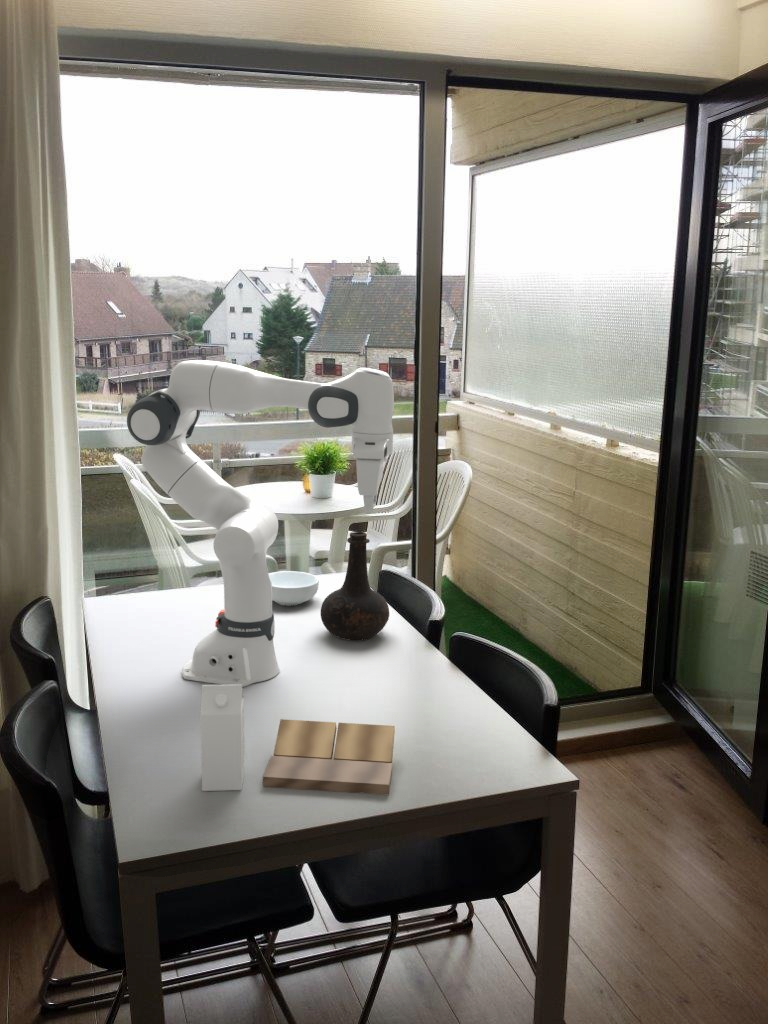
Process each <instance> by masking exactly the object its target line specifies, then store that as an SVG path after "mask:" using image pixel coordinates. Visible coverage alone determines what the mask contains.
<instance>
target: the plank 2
mask: <svg viewBox="0 0 768 1024" xmlns="http://www.w3.org/2000/svg"><path fill="white" fill-rule="evenodd" d="M395 729H396V728H395V725H383V724H368V723H367V724H366V723H353V722H352V723H351V722H350V723H349V722H338V724H337V729H336V736H335V743H334V750H333V757H332V759H333V760H349V761H365V762H381V763H392V764H393V757H394V755H393V754H394V744H395V734H396V733H395Z"/></svg>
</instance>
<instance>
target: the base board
mask: <svg viewBox="0 0 768 1024" xmlns="http://www.w3.org/2000/svg"><path fill="white" fill-rule="evenodd" d="M392 776H393V762H392V763H381V762H365V761H349V760H334V759H333V758H332V759H317V758H301V757H285V756H274V755H271V756H270V759H269V761H268V764H267V766H266V768H265V770H264V773H263V774H262V787H264V788H277V789H279V788H280V789H281V788H282V789H292V790H293V789H295V790H310V791H325V792H326V791H328V792H338V793H339V792H341V793H342V792H343V793H355V794H356V793H357V794H369V795H384V794H389V795H390V788H391V783H392Z"/></svg>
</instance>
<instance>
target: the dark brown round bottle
mask: <svg viewBox="0 0 768 1024" xmlns="http://www.w3.org/2000/svg"><path fill="white" fill-rule="evenodd" d="M367 535H368V534H367V533H366V532H364V531H358V532H355V531H353V532H350V533H349V537H348V538H347V540H346V542H347V543H349V546H348V547H349V550H348V560H347V568H346V574H345V578H344V581H343V584H342V585H341V587H340V588H339V589H336V590H335V591H332V592H331V593H329V594H328V595H327V596H326V597H325V598H324V600H323V602H322V604H321V607H320V618H321V619H320V620H321V621H322V622H321V623H322V624H323V626H324V627H325V628H326V630H327V631H328V632H329V633H330V634H331V635H332V636H334V637H337V638H339V639H342V640H345V641H350V642H351V641H352V642H353V641H354V642H356V641H357V642H359V641H367V640H370V639H372V638H374V637H375V636H377V635H378V634H380V633H381V632H382V631H383V629H384V628H385V627H386V625H387V623H388V621H389V620H390V619H389V618H390V608H389V607H390V606H389V604H388V602H387V600H386V599H385V597H384V596H382V595H381V594H380V593H379V592H377V591H376V590H373V589H372V588H371V586H370V582H369V575H368V562H367V560H368V559H367V555H368V554H367V544H368V543H370V539H369V538H367V537H368V536H367Z"/></svg>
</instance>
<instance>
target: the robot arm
mask: <svg viewBox="0 0 768 1024" xmlns="http://www.w3.org/2000/svg"><path fill="white" fill-rule="evenodd" d="M276 407H277V408H278V407H279V408H280V407H286V408H294V409H301V410H308V414H309V416H310V418H311V420H313V422H314V423H316V424H317V425H318V426H321V427H323V428H328V429H336V428H340V427H345V426H350V427H351V453H352V454H353V459H356V461H355V463H356V464H355V465H356V467H355V468H356V481H357V491H358V494H359V495H360V496H362V497H363V511H364V513H365V514H372V513H373V511H374V505H375V504H376V503H377V501H378V499H377V498H378V497H377V496H378V490H379V487H380V484H381V483H382V480H383V478H384V477H383V476H384V463H385V462H386V461H387V458H388V456H389V455H392V454H393V451H394V450H393V449H394V447H393V446H394V428H393V423H392V422H393V421H392V420H393V416H394V412H395V393H394V383H393V379H392V377H391V376H390V375H389V374H388V372H386V371H383V370H380V369H377V368H372V367H371V368H370V367H360V368H357V369H356V370H355V371H353V372H352V373H350V374H348V375H346V376H344V377H342V378H337V379H334V380H331V381H327V382H318V381H317V382H316V381H309V380H301V379H292V378H286V377H280V376H277V375H273V374H270V373H267V372H263V371H259V370H255V369H253V368H249V367H246V366H243V365H239V364H234V363H230V362H226V361H225V362H224V361H217V360H207V359H205V360H204V359H203V360H201V359H198V360H197V359H193V360H183V361H180V362H179V363H177V364H176V365H175V366H174V367H173V369H172V371H171V373H170V377H169V383H168V387H165V388H161V389H159V390H156V391H153V392H151V393H150V394H148V395H147V396H144V397H142V398H140V399H139V400H137V401H136V402H135V403H134V404H133V406H131V407H130V410H129V411H128V413H127V418H126V426H127V429H128V431H129V433H130V435H131V437H133V439H134V440H135V441H137V442H138V443H141V445H142V444H143V445H144V446H145V447H144V449H143V451H142V454H141V458H140V459H141V460H140V461H141V464H142V466H143V468H144V470H145V471H146V472H147V474H148V475H149V476H150V478H151V479H152V480H153V481H154V482H155V483H156V484H157V485H158V487H159V488H160V489H161V490H162V491H164V493H166V495H168V496H169V497H170V498H171V499H172V500H173V501H174V502H175V503H177V505H179V506H180V508H181V509H183V510H184V511H185V512H186V513H187V514H189V516H190V517H191V518H193V519H195V520H197V521H200V522H203V523H205V524H208V525H209V526H210V527H213V528H214V529H216V530H217V531H216V533H215V537H214V539H213V551H214V554H215V556H216V558H217V559H218V561H219V567H220V571H221V575H222V582H223V595H224V596H223V600H224V601H223V602H224V605H223V606H224V608H223V609H221V610H220V611H219V612H218V614H217V617H216V619H215V624H214V625H215V627H214V628H216V629H215V630H213V631H212V632H211V633H209V634H208V635H206V636H205V637H203V638H202V639H201V640H200V641H199V642H198V643H197V644H196V645H195V648H194V650H193V654H192V658H190V659H189V660H187V662H186V663H185V664H184V666H183V669H182V677H183V678H184V679H185V680H187V681H195V682H202V683H208V684H214V685H239V684H242V688H243V687H246V686H250V685H251V684H254V683H258V682H263V681H267V680H270V679H273V678H274V677H275V676H277V675H278V674H279V672H280V667H279V664H278V660H277V655H276V651H275V644H274V637H275V633H276V632H275V627H276V626H275V625H276V624H275V623H276V622H275V614H274V613H273V601H272V582H271V579H270V578H269V571H268V564H267V552H268V548H269V547H270V546H272V544H273V543H274V542H275V540H276V538H277V536H278V531H279V519H278V516H277V515H276V513H275V512H274V511H273V510H272V509H271V508H269V507H268V506H265V505H262V504H260V503H259V502H256V501H255V500H254V499H252V498H250V497H249V496H247V494H245V493H244V492H241V491H240V490H238V489H237V488H235V487H234V486H232V485H231V484H230V483H228V482H227V481H226V480H224V478H222V477H221V476H220V475H219V474H217V472H216V471H215V470H214V469H212V468H211V467H210V466H209V465H208V464H207V463H206V462H204V460H203V459H201V458H200V457H199V456H198V455H197V454H196V453H195V452H194V451H193V449H191V448H190V447H189V445H188V444H187V440H188V439H189V438H190V437H192V434H193V431H194V428H195V426H196V424H197V422H198V420H199V417H200V415H201V411H208V412H213V413H221V414H229V415H230V414H231V415H233V414H236V415H237V414H239V415H240V414H248V413H249V414H250V413H253V412H257V411H260V410H265V409H268V408H269V409H270V408H276Z"/></svg>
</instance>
